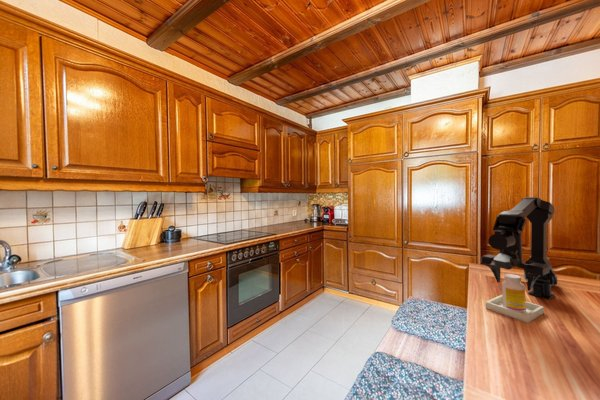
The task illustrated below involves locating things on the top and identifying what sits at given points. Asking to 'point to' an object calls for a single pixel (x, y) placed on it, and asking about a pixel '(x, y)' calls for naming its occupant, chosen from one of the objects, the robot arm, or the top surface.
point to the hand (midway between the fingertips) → (513, 286)
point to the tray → (527, 316)
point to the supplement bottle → (513, 293)
